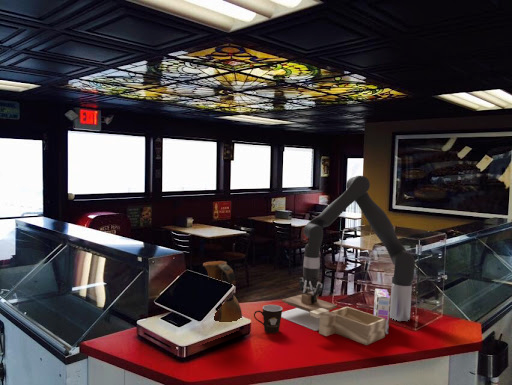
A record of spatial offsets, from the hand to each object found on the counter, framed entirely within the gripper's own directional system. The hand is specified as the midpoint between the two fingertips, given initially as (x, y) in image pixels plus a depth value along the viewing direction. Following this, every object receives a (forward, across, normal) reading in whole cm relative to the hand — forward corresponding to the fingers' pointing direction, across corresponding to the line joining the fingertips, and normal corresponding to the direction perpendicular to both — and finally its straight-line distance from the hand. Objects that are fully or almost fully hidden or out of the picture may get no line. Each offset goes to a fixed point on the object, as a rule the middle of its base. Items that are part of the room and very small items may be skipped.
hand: (309, 301), depth 205 cm
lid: (+2, 0, 0) cm, 2 cm away
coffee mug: (+8, -1, -26) cm, 27 cm away
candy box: (+8, +28, +17) cm, 34 cm away
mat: (+8, 0, 0) cm, 8 cm away
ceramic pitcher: (+8, -13, -44) cm, 47 cm away
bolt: (-2, +17, -14) cm, 22 cm away
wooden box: (+8, +25, -1) cm, 26 cm away
